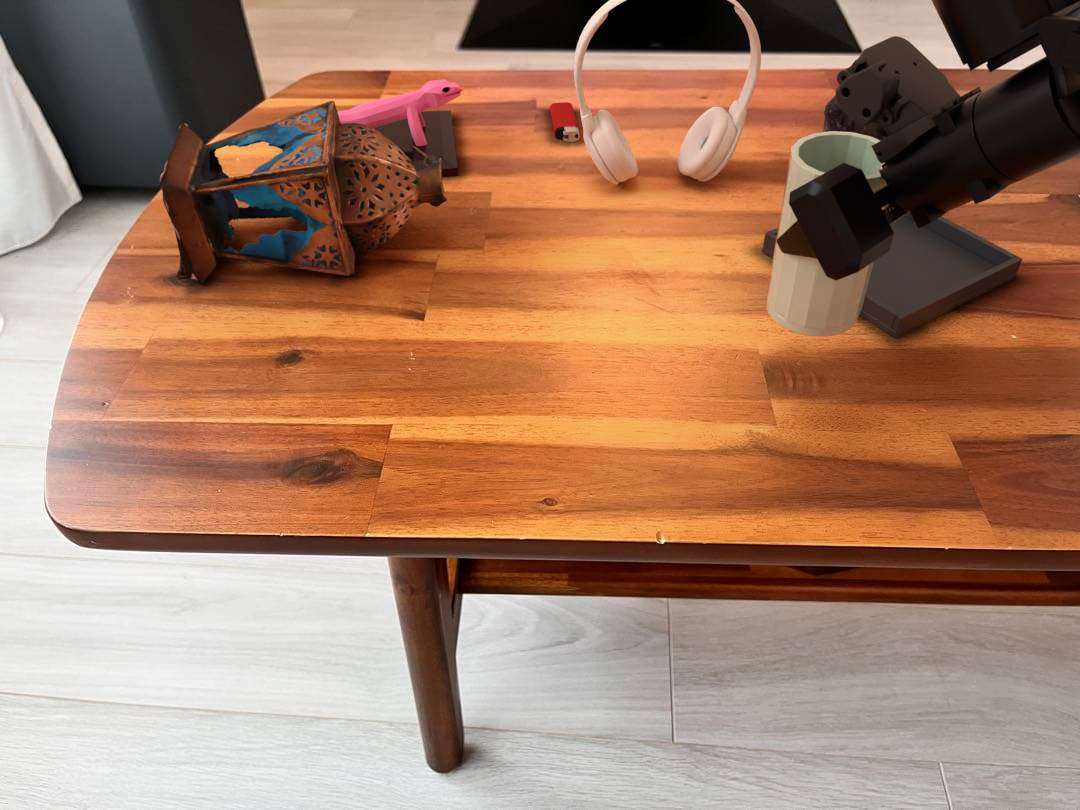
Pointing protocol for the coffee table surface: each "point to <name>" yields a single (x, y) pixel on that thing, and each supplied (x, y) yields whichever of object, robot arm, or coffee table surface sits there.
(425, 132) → the lizard figurine
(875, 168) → the tumbler
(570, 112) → the lighter
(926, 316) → the tray
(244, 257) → the lantern
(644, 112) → the coffee table surface
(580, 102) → the headphones
